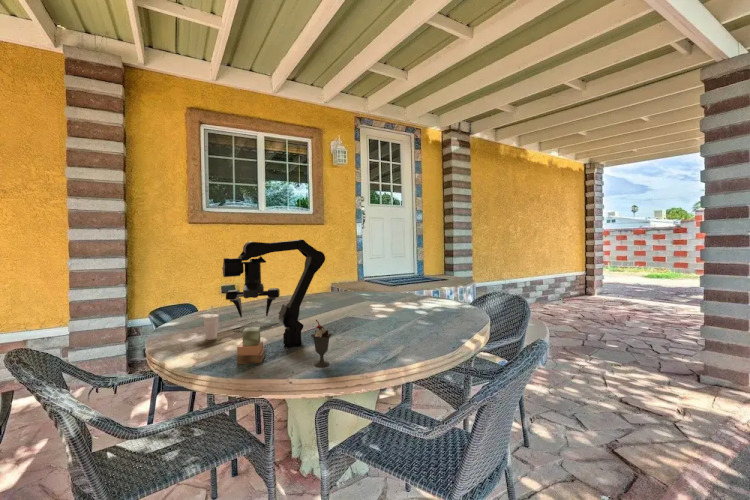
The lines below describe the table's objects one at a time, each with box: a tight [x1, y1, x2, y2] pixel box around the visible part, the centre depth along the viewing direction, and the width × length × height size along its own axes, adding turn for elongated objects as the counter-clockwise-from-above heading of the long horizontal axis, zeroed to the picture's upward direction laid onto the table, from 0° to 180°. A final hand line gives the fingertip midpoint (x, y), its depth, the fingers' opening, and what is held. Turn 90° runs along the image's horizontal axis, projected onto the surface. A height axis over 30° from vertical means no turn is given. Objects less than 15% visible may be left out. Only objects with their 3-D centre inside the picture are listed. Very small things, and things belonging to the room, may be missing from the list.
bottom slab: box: [236, 347, 266, 365], centre depth 128 cm, size 8×8×3 cm
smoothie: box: [202, 305, 220, 341], centre depth 155 cm, size 6×6×14 cm
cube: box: [242, 326, 261, 346], centre depth 128 cm, size 5×5×5 cm
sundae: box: [310, 319, 332, 368], centre depth 122 cm, size 7×7×15 cm
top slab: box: [236, 340, 264, 357], centre depth 128 cm, size 7×7×3 cm
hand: (254, 316), depth 137 cm, fingers open, 9 cm apart
